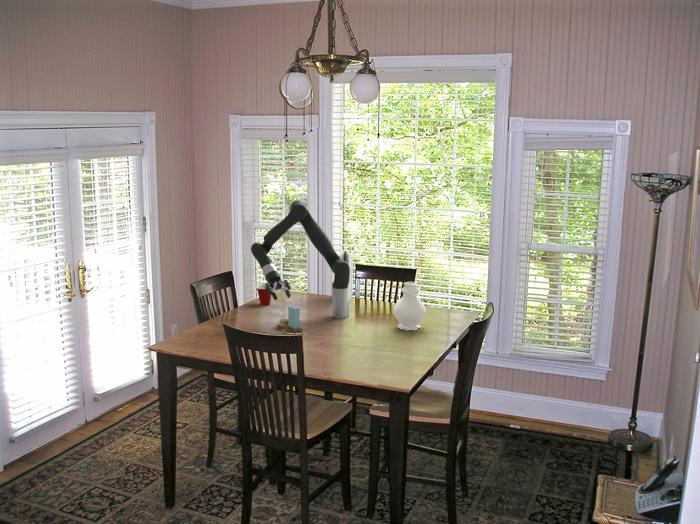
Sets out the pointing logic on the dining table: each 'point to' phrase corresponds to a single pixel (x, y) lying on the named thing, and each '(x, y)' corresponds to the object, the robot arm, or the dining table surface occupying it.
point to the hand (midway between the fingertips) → (283, 298)
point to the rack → (292, 330)
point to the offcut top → (284, 321)
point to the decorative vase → (409, 308)
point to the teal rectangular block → (293, 317)
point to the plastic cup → (263, 295)
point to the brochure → (349, 260)
